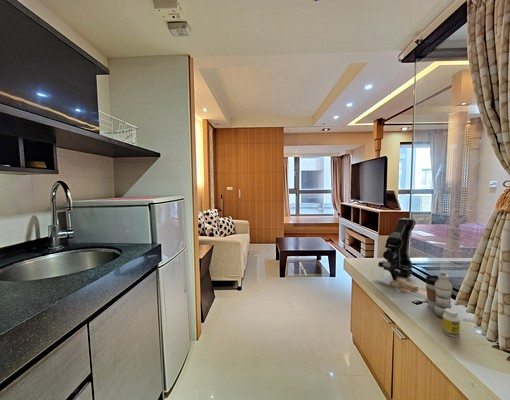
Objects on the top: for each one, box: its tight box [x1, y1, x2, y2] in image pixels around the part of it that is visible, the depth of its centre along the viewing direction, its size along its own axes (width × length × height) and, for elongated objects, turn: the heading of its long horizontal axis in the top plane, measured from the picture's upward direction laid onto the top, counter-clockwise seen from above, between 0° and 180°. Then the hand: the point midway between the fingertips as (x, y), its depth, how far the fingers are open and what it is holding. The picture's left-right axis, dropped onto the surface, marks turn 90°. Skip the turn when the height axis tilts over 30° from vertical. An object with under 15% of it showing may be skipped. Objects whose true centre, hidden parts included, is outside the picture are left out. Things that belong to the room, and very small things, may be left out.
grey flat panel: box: [376, 275, 428, 302], centre depth 138 cm, size 14×30×1 cm, turn 26°
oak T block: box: [390, 277, 420, 291], centre depth 138 cm, size 12×12×2 cm
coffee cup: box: [424, 275, 439, 310], centre depth 115 cm, size 8×8×15 cm
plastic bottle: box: [433, 272, 453, 319], centre depth 107 cm, size 6×7×20 cm
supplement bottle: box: [442, 308, 461, 338], centre depth 96 cm, size 5×5×10 cm
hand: (394, 281), depth 145 cm, fingers closed
